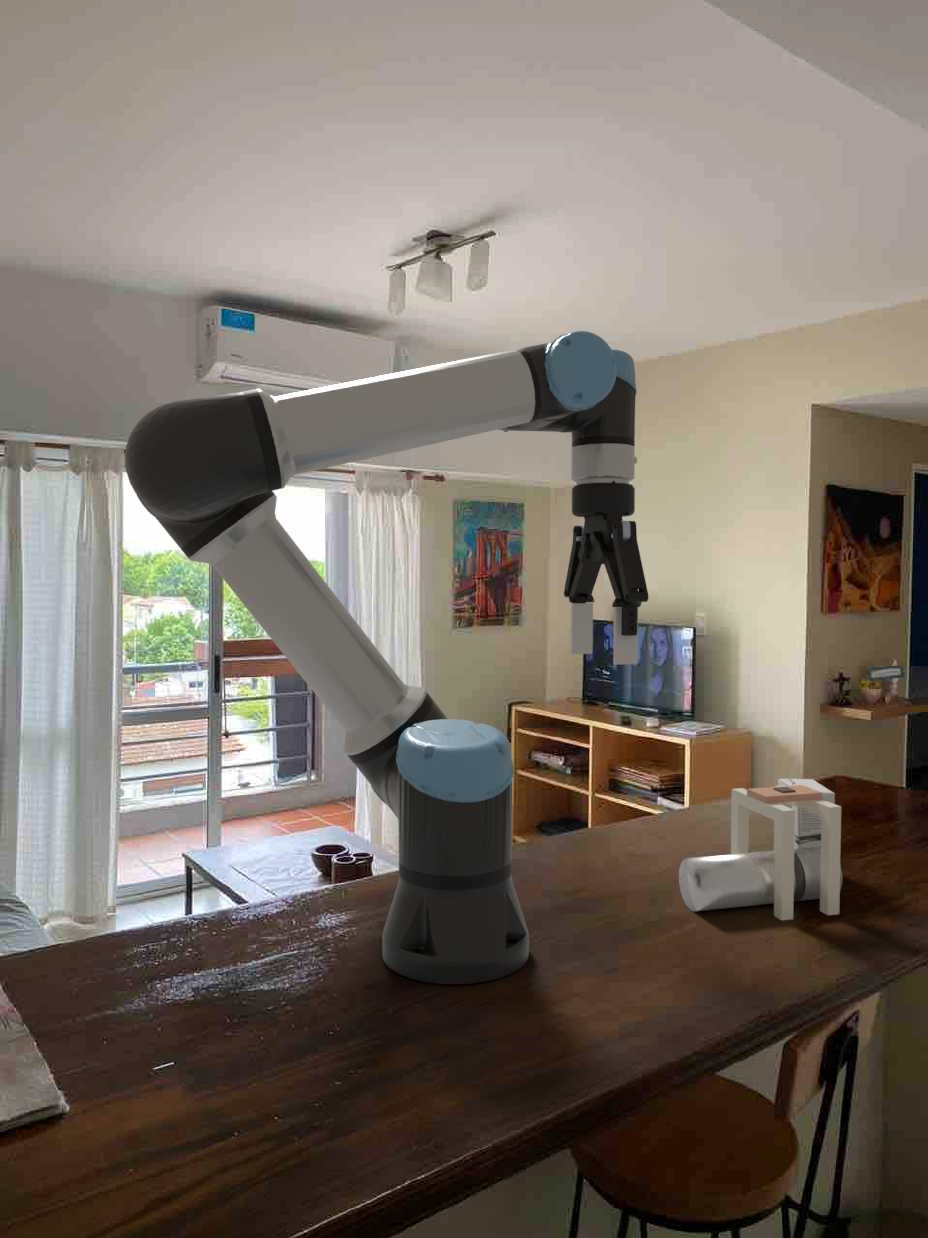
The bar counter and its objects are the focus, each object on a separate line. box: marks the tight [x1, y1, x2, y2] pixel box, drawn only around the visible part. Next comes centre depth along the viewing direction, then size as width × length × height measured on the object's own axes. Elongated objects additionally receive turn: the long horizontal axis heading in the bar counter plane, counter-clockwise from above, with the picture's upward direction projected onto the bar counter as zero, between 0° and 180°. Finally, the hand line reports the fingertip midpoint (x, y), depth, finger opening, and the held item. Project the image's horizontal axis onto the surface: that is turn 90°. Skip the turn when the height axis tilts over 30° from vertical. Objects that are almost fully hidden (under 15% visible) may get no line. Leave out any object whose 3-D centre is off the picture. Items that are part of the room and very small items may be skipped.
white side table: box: [730, 785, 842, 921], centre depth 112 cm, size 8×11×14 cm
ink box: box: [777, 778, 836, 849], centre depth 122 cm, size 9×5×12 cm, turn 179°
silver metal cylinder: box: [678, 846, 843, 912], centre depth 111 cm, size 18×6×6 cm, turn 104°
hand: (602, 659), depth 114 cm, fingers open, 13 cm apart
